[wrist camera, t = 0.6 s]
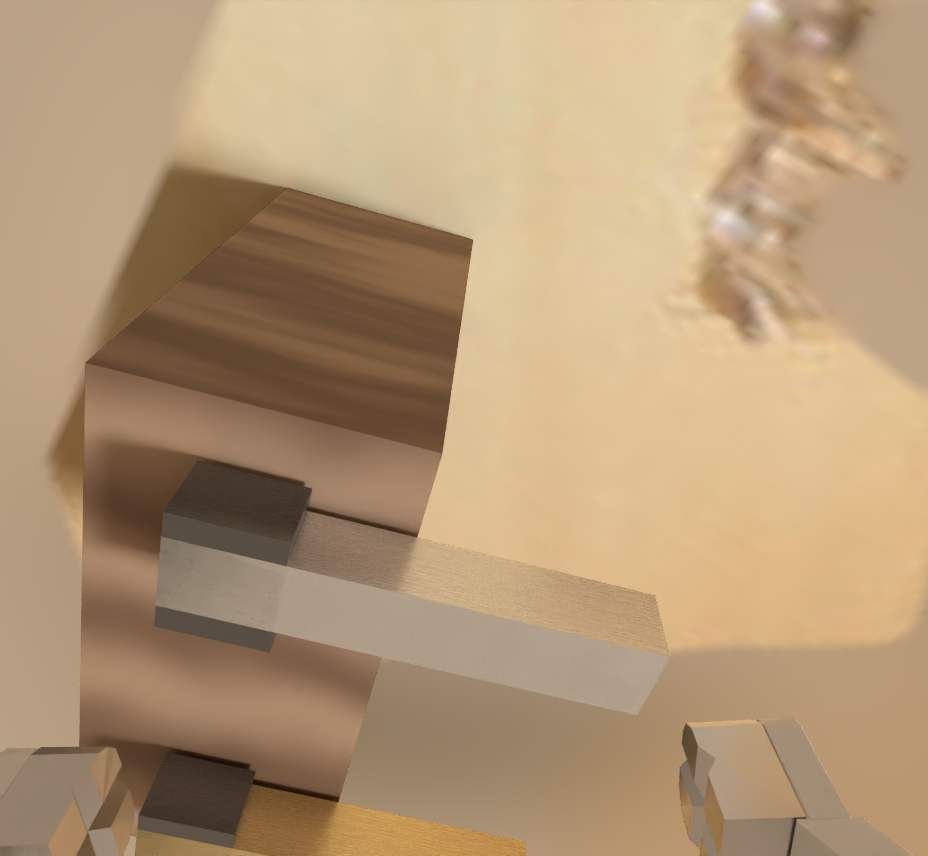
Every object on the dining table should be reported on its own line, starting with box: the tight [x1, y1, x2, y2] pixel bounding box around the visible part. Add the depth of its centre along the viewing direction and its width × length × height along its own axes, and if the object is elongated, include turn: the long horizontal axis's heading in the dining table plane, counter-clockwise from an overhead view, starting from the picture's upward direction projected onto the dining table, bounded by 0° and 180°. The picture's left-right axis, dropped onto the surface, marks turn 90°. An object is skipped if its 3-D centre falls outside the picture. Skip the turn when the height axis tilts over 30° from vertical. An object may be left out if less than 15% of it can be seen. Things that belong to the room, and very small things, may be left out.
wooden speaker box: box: [79, 188, 473, 837], centre depth 43 cm, size 26×14×26 cm, turn 165°
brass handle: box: [135, 752, 526, 856], centre depth 34 cm, size 5×17×3 cm, turn 75°
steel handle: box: [154, 460, 670, 715], centre depth 27 cm, size 5×17×3 cm, turn 75°
